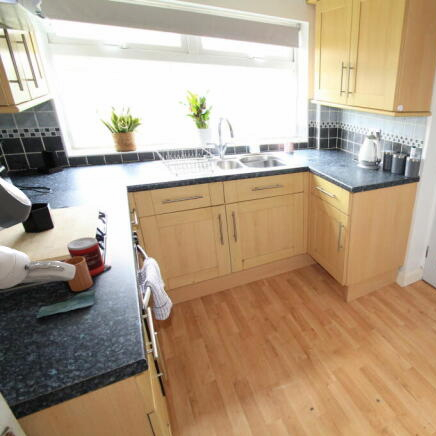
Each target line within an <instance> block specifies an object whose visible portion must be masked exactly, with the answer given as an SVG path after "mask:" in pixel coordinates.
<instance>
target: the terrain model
mask: <svg viewBox="0 0 436 436" xmlns="http://www.w3.org/2000/svg"><path fill="white" fill-rule="evenodd" d="M96 291H97V290H96V289H94V290H90V291H84V292H80V293H79V294H77V295H74V296H73V297H71V298H70V299H68V300H66V301H62V302H57V303H54V304H51V305H45V306H41V307H40V308H39V310H38V312H37V315H36V317H35V319H39V318H42V317H44V316H51V315H55V314H57V313H65V312H68V311H69V312H70V311H71V310H76V309H82V308H86V307H89V306H92V305H94V302H95V296H96Z"/></svg>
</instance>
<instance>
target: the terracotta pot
mask: <svg viewBox="0 0 436 436" xmlns="http://www.w3.org/2000/svg"><path fill="white" fill-rule="evenodd" d="M62 262H63V263H67V264H71V265H74V266H75V267H76V271H75V276H74V278H73V279H72V280H67V283H68V286H69V288H70V290H71V291H72V292H81V291H85V290H87V289H89V288H90V287H92V286H93V284H94V282H93V278H92V277H91V275H90V272H89V268H88V265H87V262H86V259H85V258H84V257H81V256H78V257H72V258H71V257H69V258H67V259H65V260H63V261H62Z"/></svg>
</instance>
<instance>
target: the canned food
mask: <svg viewBox="0 0 436 436" xmlns="http://www.w3.org/2000/svg"><path fill="white" fill-rule="evenodd" d="M66 247H67V250H68V254H69V256H70V258H72V257H78V256H81V257H84V258H85V259H86V262H87V265H88V268H89V272H90V275H91V278H92V277H95V276H97V275H100V274H102V273H103V272H104V270H105V267H106V266H105V263H104V258H103V255H102V251H101V249H100V245H99V243H98V240H97V238H95V237H91V236H90V237H89V236H88V237H81V238H76V239H74V240H71V241H70V242H69V243H67V245H66Z"/></svg>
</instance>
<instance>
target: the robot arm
mask: <svg viewBox="0 0 436 436" xmlns="http://www.w3.org/2000/svg"><path fill="white" fill-rule="evenodd" d="M31 210H32V202H31V200H30V199H29V197H28V196H27V195H26V194H25V193H24V192H23V191H22V190H20V189H19V188H18V187H16V186H15V185H14V184H12V183H11V182H9V181H8V180H6V178H4V177H2V176H1V175H0V232H1V231H3V230H6V229H9V228H12V227H15V226H17V225H19V224H22V223H24V222H26V221H27V220H28V218H29V216H30V213H31ZM63 262H64V261H58V260H34V261H31V259H30V257H29V256H28V255H27V254H26V253H25V252H24V251H20V250H18V249H15V248H11V247H9V246H5V245H3V244H0V290H4V289H5V290H6V289H10V288H13V287H16V285H18V284H20V285H21V284H29V283H44V282H68V280H72V279H73V278H74V276H75V271H76V267H75V266H74V265H71V264H67V263H63Z"/></svg>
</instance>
